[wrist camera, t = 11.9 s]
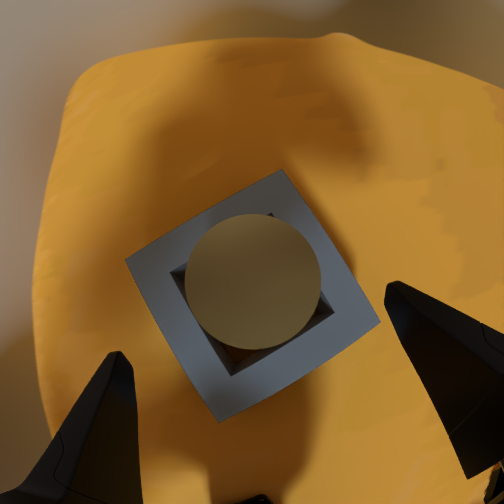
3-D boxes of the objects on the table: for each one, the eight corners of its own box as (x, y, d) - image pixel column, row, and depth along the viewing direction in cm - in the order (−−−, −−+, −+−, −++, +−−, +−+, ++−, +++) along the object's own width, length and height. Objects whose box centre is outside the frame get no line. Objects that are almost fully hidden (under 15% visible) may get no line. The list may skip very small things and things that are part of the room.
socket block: (357, 321, 20) (380, 322, 16) (224, 403, 19) (218, 423, 15) (276, 193, 22) (281, 168, 18) (146, 269, 21) (124, 259, 17)
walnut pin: (296, 308, 20) (345, 301, 9) (241, 342, 20) (229, 374, 9) (262, 254, 21) (275, 191, 10) (208, 287, 20) (161, 256, 10)
